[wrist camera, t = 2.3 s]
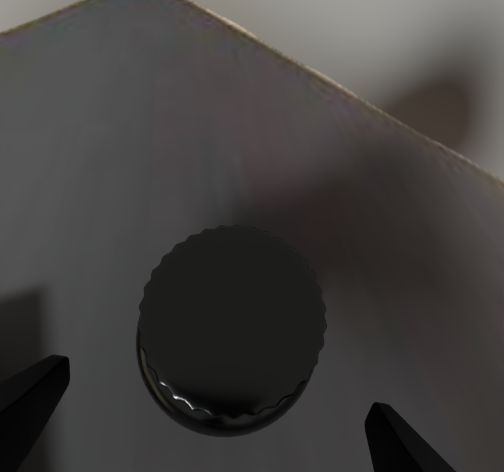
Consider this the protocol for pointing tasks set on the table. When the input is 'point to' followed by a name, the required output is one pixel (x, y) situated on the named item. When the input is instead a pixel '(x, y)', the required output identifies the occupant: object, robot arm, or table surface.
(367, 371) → the table surface
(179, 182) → the table surface
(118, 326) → the table surface
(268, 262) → the supplement bottle
